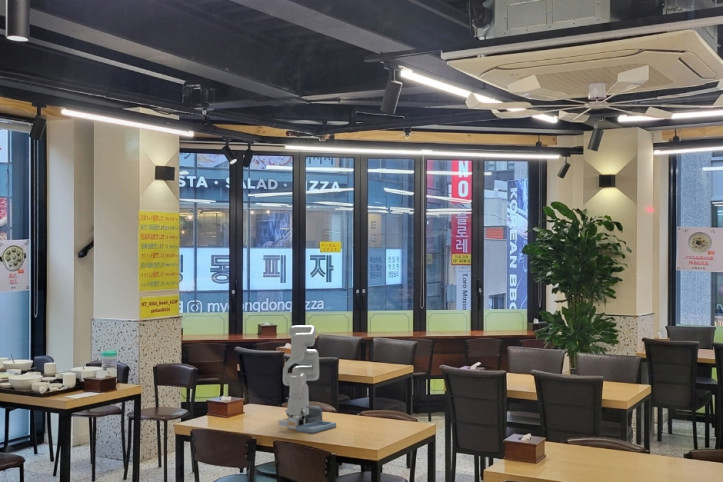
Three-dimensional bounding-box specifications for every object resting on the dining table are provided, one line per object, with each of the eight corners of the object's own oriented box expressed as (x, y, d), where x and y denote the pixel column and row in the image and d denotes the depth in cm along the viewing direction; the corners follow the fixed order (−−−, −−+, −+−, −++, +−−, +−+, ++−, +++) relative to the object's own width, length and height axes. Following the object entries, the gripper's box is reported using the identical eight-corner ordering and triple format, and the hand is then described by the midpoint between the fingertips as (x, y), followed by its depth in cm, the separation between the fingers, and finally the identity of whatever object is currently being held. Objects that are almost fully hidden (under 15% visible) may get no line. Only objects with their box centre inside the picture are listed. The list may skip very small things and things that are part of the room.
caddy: (297, 425, 488) (297, 415, 489) (305, 426, 485) (305, 416, 485) (279, 430, 475) (279, 420, 475) (286, 431, 472) (286, 421, 472)
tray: (319, 424, 490) (319, 420, 490) (336, 427, 482) (336, 422, 482) (295, 430, 473) (295, 426, 473) (313, 433, 465) (313, 429, 465)
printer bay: (310, 421, 500) (310, 404, 501) (322, 422, 495) (322, 406, 495) (297, 424, 491) (297, 408, 491) (309, 426, 485) (309, 409, 485)
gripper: (281, 395, 485) (281, 424, 485) (302, 398, 475) (303, 428, 474) (289, 393, 491) (289, 422, 491) (311, 396, 481) (311, 425, 480)
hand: (296, 425), depth 483 cm, fingers open, 7 cm apart
